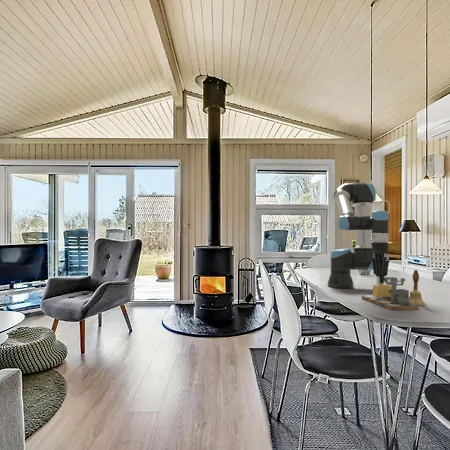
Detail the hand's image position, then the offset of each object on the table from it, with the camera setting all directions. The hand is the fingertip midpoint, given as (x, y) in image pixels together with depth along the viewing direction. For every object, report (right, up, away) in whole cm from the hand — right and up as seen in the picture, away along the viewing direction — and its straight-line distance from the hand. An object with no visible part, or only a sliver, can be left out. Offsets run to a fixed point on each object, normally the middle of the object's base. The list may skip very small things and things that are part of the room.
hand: (380, 289), depth 161 cm
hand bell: (+14, -6, -5) cm, 16 cm away
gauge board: (+1, -6, -6) cm, 8 cm away
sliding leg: (0, -3, -3) cm, 4 cm away
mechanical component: (+12, -6, +11) cm, 17 cm away
